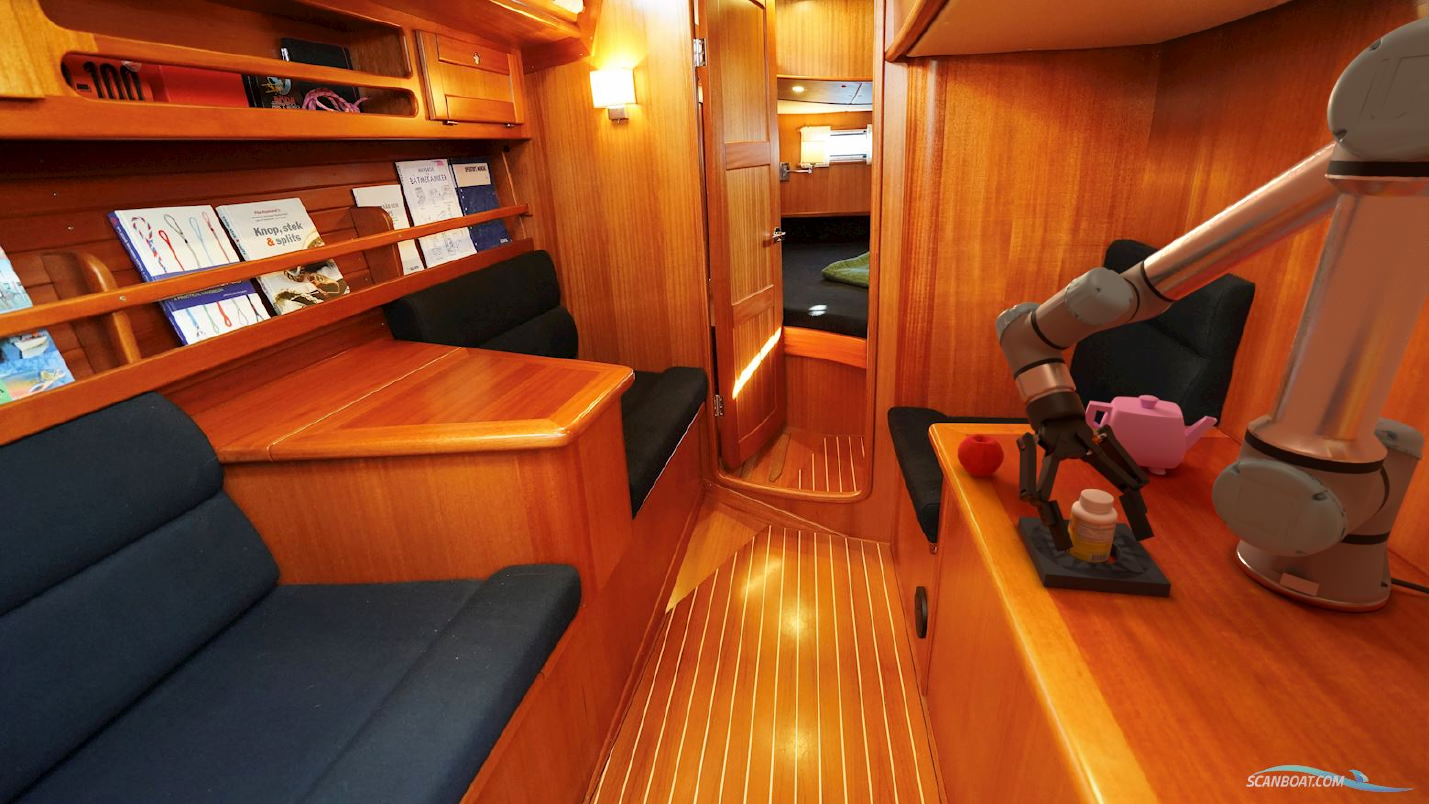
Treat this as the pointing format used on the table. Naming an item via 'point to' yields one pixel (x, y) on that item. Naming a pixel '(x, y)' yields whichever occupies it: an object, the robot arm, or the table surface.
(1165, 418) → the teapot
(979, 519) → the table surface
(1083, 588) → the pad board
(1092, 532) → the supplement bottle
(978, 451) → the apple
